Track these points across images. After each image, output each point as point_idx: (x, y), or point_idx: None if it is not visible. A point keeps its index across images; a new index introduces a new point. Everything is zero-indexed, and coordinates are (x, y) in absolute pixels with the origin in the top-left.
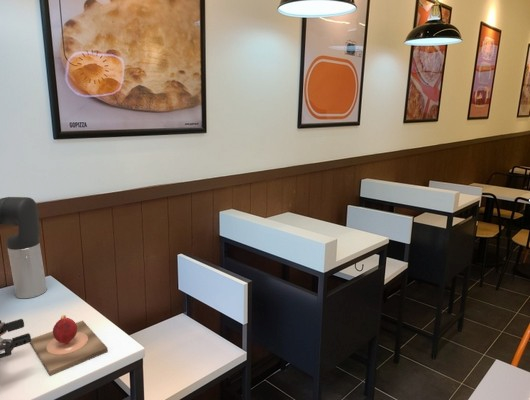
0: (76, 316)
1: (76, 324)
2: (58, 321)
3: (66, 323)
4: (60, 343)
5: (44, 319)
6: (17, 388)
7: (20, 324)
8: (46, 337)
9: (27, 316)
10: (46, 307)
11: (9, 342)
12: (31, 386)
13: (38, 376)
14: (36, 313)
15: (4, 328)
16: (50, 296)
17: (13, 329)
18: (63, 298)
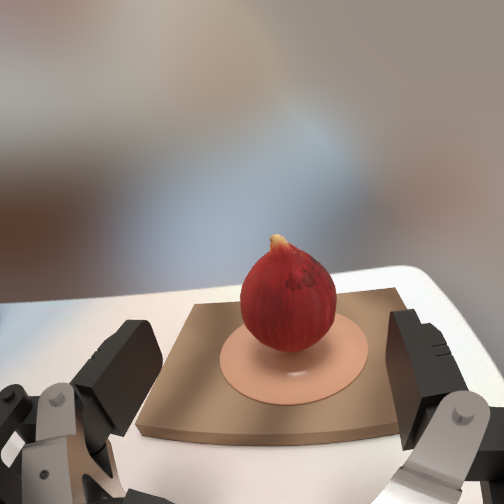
0: (143, 316)
1: (198, 316)
2: (276, 266)
3: (312, 257)
4: (278, 363)
5: (69, 360)
6: None
7: (147, 355)
8: (184, 385)
9: (16, 374)
10: (36, 339)
11: (487, 410)
12: None
13: None
14: (29, 359)
15: (94, 424)
16: (18, 322)
17: (136, 403)
18: (50, 312)
